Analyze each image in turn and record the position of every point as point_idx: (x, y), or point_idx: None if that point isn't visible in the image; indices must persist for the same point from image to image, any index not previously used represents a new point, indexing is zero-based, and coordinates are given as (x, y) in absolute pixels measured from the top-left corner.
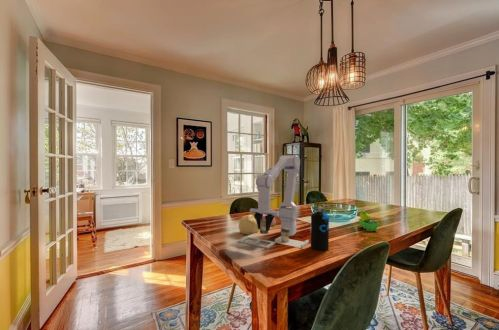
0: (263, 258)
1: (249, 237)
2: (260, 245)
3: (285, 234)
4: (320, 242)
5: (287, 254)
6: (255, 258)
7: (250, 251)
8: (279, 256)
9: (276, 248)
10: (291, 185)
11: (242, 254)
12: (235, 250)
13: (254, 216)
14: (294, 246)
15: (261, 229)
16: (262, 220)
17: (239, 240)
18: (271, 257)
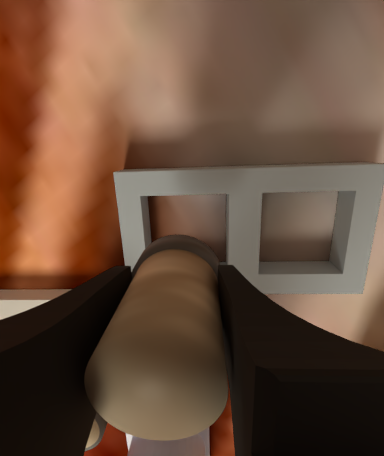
0: (76, 43)
1: (337, 282)
2: (176, 176)
3: None
4: None
5: (11, 204)
6: (118, 3)
7: (221, 105)
8: (24, 145)
9: (114, 253)
10: None
11: (239, 8)
12: (330, 49)
13: (370, 354)
14: (13, 299)
15: (182, 255)
16: (155, 342)
17: (380, 179)
18: (49, 97)
